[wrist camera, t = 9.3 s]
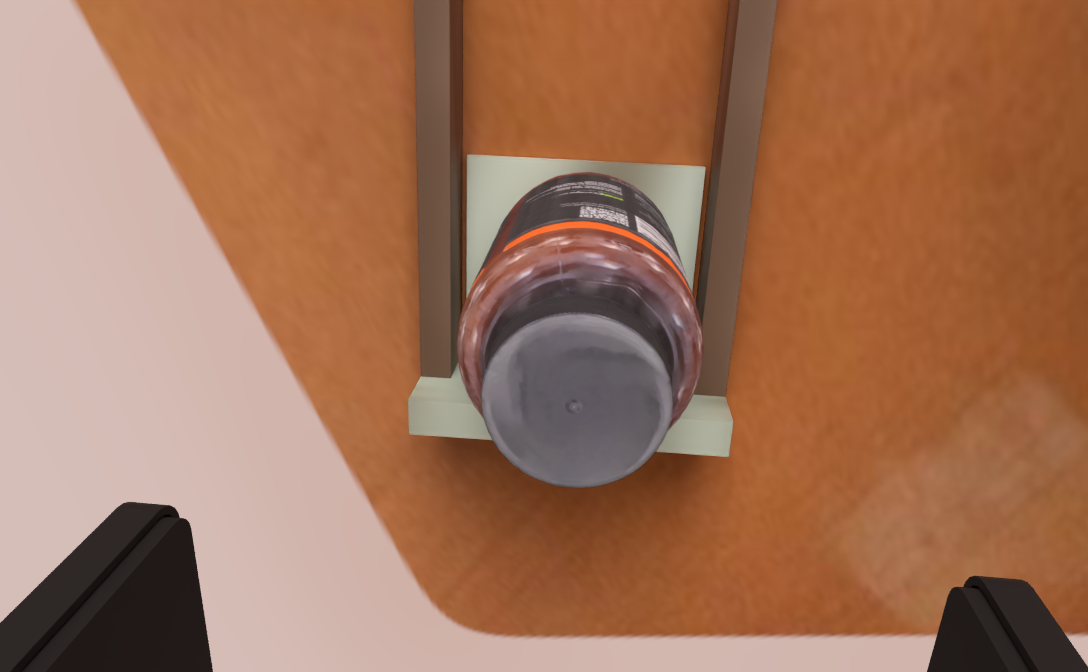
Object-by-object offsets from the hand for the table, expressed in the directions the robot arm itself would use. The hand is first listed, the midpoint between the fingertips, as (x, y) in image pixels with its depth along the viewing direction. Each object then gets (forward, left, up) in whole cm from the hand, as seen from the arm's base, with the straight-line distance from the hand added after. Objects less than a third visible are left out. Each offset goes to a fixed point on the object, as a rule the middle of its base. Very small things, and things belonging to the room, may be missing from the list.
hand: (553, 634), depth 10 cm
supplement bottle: (0, 0, -18) cm, 18 cm away
